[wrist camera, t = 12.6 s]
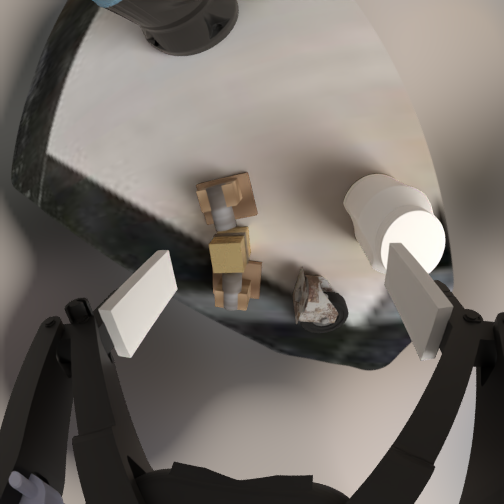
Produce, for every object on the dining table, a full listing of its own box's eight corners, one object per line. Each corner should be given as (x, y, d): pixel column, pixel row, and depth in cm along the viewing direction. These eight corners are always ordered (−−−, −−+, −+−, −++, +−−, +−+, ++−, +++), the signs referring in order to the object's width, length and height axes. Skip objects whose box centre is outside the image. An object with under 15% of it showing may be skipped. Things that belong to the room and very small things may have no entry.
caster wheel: (334, 315, 51) (283, 312, 50) (355, 270, 44) (298, 264, 43) (340, 343, 45) (286, 341, 45) (366, 299, 39) (303, 295, 38)
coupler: (220, 227, 44) (208, 243, 38) (248, 225, 43) (241, 242, 37) (224, 254, 46) (213, 273, 40) (251, 253, 45) (244, 273, 39)
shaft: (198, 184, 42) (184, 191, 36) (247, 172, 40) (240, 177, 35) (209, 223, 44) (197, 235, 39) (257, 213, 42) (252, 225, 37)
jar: (411, 232, 40) (455, 274, 26) (360, 253, 42) (386, 305, 29) (392, 165, 36) (439, 182, 23) (336, 187, 39) (360, 214, 25)
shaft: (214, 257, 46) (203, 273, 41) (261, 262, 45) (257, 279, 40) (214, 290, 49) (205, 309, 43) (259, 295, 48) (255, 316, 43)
